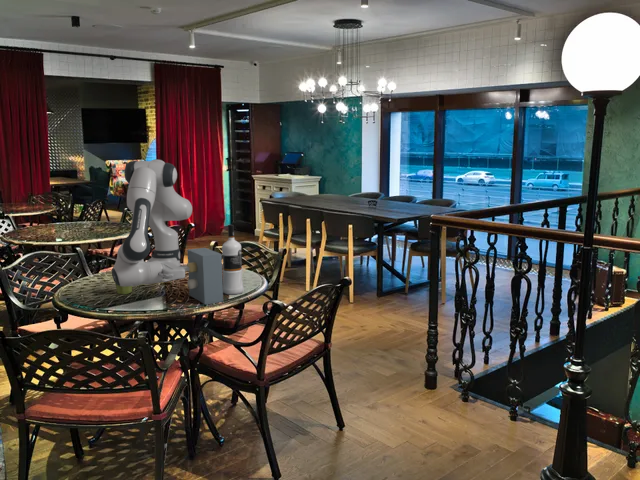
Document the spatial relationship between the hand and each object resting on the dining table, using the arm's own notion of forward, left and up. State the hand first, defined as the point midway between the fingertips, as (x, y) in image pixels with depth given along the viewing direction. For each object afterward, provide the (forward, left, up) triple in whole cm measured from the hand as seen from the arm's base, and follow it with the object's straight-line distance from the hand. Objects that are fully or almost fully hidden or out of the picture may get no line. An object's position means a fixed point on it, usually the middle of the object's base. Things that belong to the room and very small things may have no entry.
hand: (188, 268), depth 241 cm
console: (+6, +3, -14) cm, 16 cm away
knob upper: (+6, +3, -2) cm, 7 cm away
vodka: (+17, +12, -14) cm, 25 cm away
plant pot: (-31, +15, -14) cm, 38 cm away
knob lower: (+6, +3, -9) cm, 11 cm away
